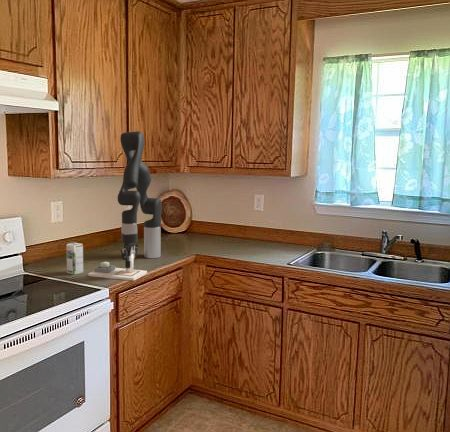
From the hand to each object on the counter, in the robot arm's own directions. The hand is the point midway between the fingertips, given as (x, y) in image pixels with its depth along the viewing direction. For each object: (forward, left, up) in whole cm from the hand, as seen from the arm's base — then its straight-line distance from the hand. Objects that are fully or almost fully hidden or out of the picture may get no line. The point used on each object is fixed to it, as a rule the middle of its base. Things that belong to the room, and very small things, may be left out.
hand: (129, 266), depth 227 cm
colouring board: (+2, -5, -4) cm, 7 cm away
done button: (+2, -12, -2) cm, 13 cm away
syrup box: (+6, -26, -4) cm, 27 cm away
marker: (0, 0, -2) cm, 2 cm away
